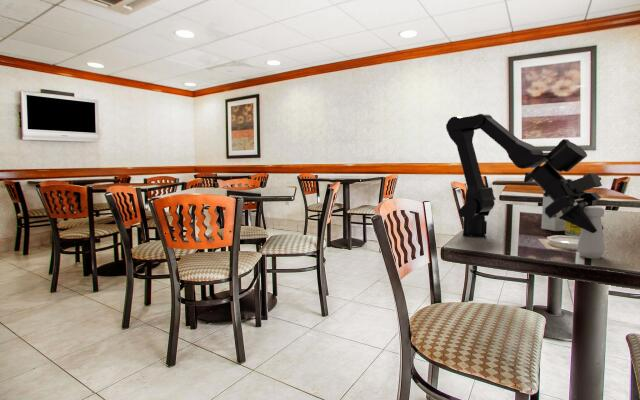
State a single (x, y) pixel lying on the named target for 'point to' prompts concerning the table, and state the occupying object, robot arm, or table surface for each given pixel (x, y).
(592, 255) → the salt shaker
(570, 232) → the supplement bottle
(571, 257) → the table surface
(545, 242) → the placemat
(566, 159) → the robot arm
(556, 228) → the skincare box
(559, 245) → the dish
